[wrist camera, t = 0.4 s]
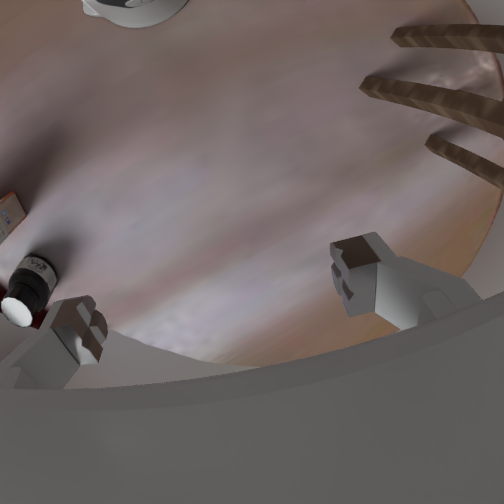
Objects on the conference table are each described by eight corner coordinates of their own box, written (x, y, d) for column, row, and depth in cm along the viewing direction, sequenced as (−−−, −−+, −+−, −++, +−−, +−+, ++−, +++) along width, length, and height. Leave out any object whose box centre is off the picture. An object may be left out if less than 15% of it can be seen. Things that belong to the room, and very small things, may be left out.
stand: (431, 151, 51) (555, 226, 26) (358, 88, 44) (509, 128, 18) (463, 98, 46) (590, 146, 20) (396, 28, 38) (548, 30, 13)
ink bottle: (65, 269, 52) (44, 310, 42) (53, 298, 55) (34, 340, 45) (25, 244, 48) (-3, 282, 38) (15, 275, 51) (-9, 314, 41)
